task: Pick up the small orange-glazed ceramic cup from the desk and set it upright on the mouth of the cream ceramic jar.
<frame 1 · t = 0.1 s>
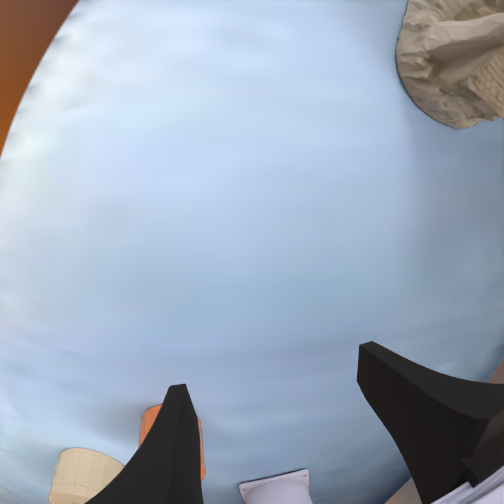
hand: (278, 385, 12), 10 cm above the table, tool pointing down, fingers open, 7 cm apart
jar: (94, 469, 25), on the table
cup: (170, 424, 24), on the table
ceramic cottage: (466, 61, 19), on the table
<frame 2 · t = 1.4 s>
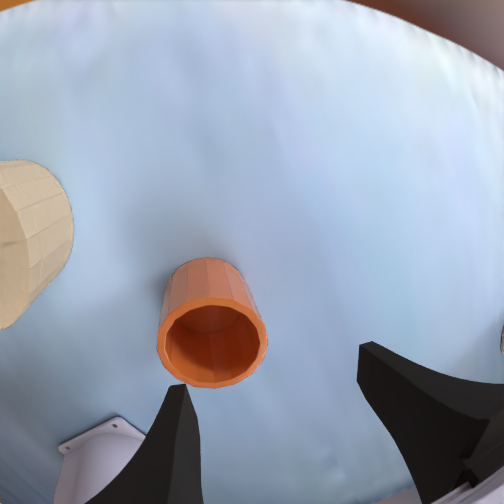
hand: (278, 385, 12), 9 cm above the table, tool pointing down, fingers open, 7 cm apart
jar: (19, 225, 16), on the table
cup: (206, 297, 20), on the table
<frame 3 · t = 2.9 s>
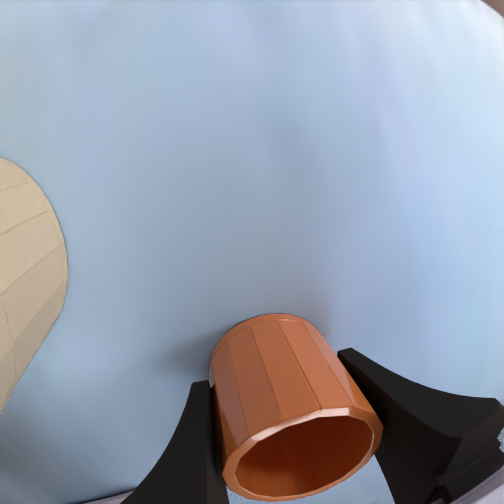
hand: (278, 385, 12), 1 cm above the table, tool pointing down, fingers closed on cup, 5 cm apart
cup: (269, 364, 13), on the table, touching gripper
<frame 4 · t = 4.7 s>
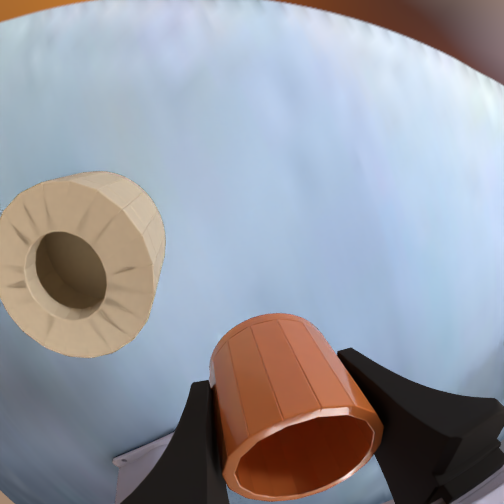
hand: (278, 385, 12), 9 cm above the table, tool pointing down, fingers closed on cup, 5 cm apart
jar: (99, 240, 18), on the table
cup: (269, 364, 13), point 7 cm above the table, touching gripper
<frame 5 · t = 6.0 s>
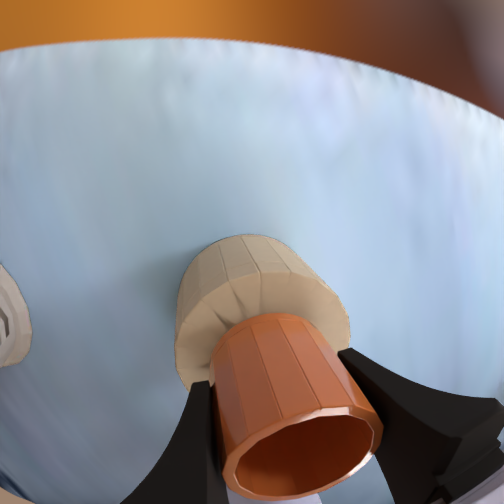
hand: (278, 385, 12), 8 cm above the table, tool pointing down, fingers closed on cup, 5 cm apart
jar: (245, 299, 20), on the table
cup: (269, 364, 13), point 7 cm above the table, touching gripper
when the fingers open (7 cm above the table, at t = 6.7 s): cup stays where it is, resting on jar.
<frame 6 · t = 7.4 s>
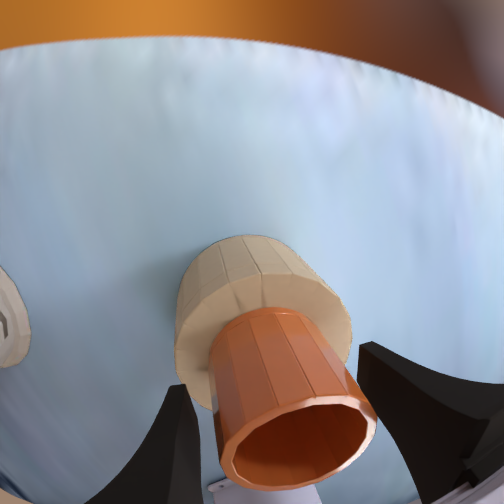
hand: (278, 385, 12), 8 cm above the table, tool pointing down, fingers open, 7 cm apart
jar: (246, 300, 19), on the table
cup: (266, 357, 14), point 6 cm above the table, touching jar
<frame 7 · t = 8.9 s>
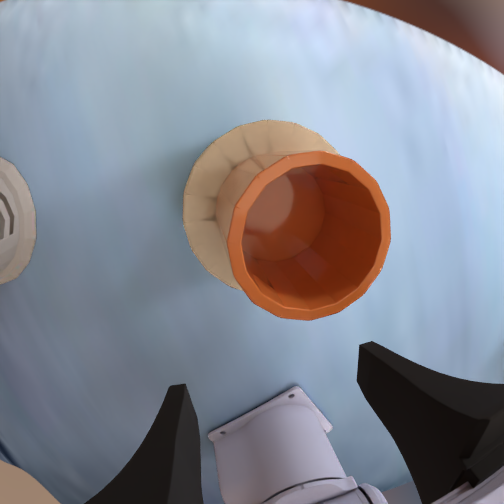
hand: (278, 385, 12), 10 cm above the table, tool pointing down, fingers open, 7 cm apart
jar: (251, 194, 20), on the table
cup: (273, 209, 15), point 6 cm above the table, touching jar
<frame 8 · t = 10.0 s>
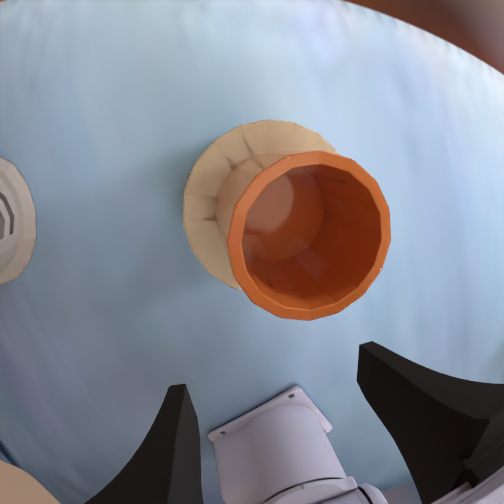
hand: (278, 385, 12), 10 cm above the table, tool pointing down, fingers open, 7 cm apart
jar: (251, 194, 20), on the table
cup: (273, 209, 15), point 6 cm above the table, touching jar
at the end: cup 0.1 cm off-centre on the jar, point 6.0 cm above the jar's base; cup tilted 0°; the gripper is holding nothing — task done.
